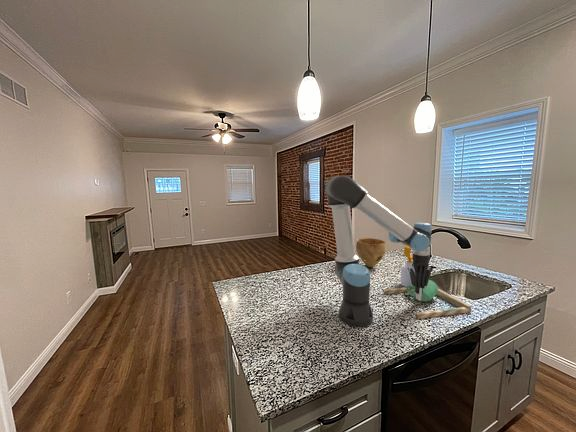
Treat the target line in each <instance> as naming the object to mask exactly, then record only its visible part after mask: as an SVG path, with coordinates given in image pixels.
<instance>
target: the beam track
mask: <svg viewBox="0 0 576 432" xmlns="http://www.w3.org/2000/svg"><path fill="white" fill-rule="evenodd" d="M410 291H411V292H415V290H410ZM383 292H384V294H385V295H390V294H401V293H408V292H407V287H398V288H388V289H387V288H385V289H384V290H383ZM435 296H438V297H439V298H441V299H443V301H444V300H445V301H447V302H448V303H449V304H452V305H454V307H447V308H441V309H438V310H436V309H435V310H430V311H429V310H427V311H421V312H420V311H419V312H415V317H416V318H417V319H426V318H427V319H428V318H433V317H434V318H435V317H442V316H448V315H449V316H450V315H458V314H465V313H466V314H467V313H472V305H470V304H468V303H467V302H465V301H463V300H461V299H459V298H457V297H455V296H454V295H452V294H449V293H448V292H446V291H444V290H442V289H440V288H438V292H437V294H436V295H435ZM455 306H456V307H455Z"/></svg>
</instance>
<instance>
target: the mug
mask: <svg viewBox="0 0 576 432" xmlns="http://www.w3.org/2000/svg"><path fill="white" fill-rule="evenodd" d="M424 287H425V288H423V293H422V296H421V301H420V302H423V303H426V302H429V301H431V300H432V299H434V298H435V297H436V296H437V295H436V294H437V292H438V289H439V287H438V285H437V284H436V283H435V281H433V280H430V279H429V281H428V284H427V286H424ZM410 290H415V287H414V286H408V287H407V292H406V293H408V294H409V295H410V296H411V297H414V298H416V293H415V292H414V291H412V292H411V291H410Z"/></svg>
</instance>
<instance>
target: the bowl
mask: <svg viewBox="0 0 576 432" xmlns="http://www.w3.org/2000/svg"><path fill="white" fill-rule="evenodd" d="M355 244H356V245H355V251H356V253H357V254H358V255H357V256H358V257H359V259H360V260H361V261H362V262H363V264H364V265H365V266H367V267H368V268H373V267H376V265H378V264H379V263H380V261H382V259H383V258H384V256H385V255H386V252H387V249H386V247H387V244H386V241H385V240H383V239H380V238H373V237H372V238H371V237H365V238H363V237H362V238H361V237H360V238H357V239H356V243H355Z"/></svg>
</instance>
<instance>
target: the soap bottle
mask: <svg viewBox="0 0 576 432" xmlns="http://www.w3.org/2000/svg"><path fill="white" fill-rule="evenodd" d="M411 250H413V249H412V248H410V247H409V246H407V245H405V246H404V249H403V257H405V258H407V259H408V260H406V264H404V265H402V266H401V269H400V270H401V271H400V285H401V286H402V287H403V288H406V287H408V286H413V285H412V283H411V278H410V273H409V271H408V268H410V267H412V264H413V260H412V257H413V254H411ZM414 273H415V270H414Z"/></svg>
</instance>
